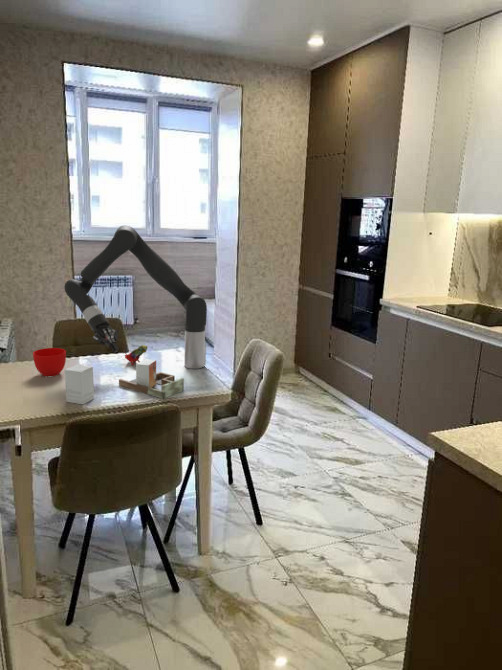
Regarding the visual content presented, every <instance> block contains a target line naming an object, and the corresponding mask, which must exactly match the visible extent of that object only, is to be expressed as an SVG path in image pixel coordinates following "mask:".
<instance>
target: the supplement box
mask: <svg viewBox="0 0 502 670" xmlns="http://www.w3.org/2000/svg"><path fill="white" fill-rule="evenodd" d="M64 376H65V377H64V378H65V379H64V381H65V394H66V395H65V396H66V399H65V400H66V402H67V403H73V404H79V405H85V404H86V403H88V402H90V401H92V400H94V399H95V385H94V367H93V366H91V365H84V364H83V365H82V364H74V365H72V366H70V367H68V368H65V369H64Z"/></svg>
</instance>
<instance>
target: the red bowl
mask: <svg viewBox="0 0 502 670" xmlns="http://www.w3.org/2000/svg"><path fill="white" fill-rule="evenodd" d="M32 355H33V357H32V358H33V364H34V367H35V369H36V371H38V372H39V373H40V374H41V375H42V376H43V377H45V376H47V377H48V376H53V377H57V376H58V375H60V374H61V372H62V371H63V369H64V368H65V365H66V359H67V351H66V350H65V349H64V348H59V347H47V348H45V347H44V348H40V349H37V350H34V351H33V352H32ZM56 375H57V376H56ZM47 377H46V378H47ZM48 378H49V377H48Z"/></svg>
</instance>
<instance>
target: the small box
mask: <svg viewBox="0 0 502 670" xmlns="http://www.w3.org/2000/svg"><path fill="white" fill-rule="evenodd" d="M135 371H136V373H135V376H136V377H135V379H136V384H140V385H143V386H147V387H150V388H154V386H156V385H157V384H156V373H157V360H156V359H147V358H143V359H142V360H140V362H138V363H136V365H135Z"/></svg>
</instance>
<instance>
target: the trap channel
mask: <svg viewBox="0 0 502 670" xmlns="http://www.w3.org/2000/svg"><path fill="white" fill-rule="evenodd" d="M184 382H185V380H184V378H183V377H181V378H179V379H178V378H177V379H176V380H175V375H174V374H170V373H166V372H161V371H159V372H156V385H159V386H160V390H159V389H158V388H154V387H152V388H150V387H147V386H143V385H140V384H136V378H135V379H132V380H125V379H121V378H120V379H118V386H120V387H123V388H126V389H129V390H133V391H135V392H140V393H143V394H146V395H149V396H153V397H157V398H159V399H166V398H168V397H171V396H173V395H175V394H178V393H181V392H184V389H185V387H184V386H185V385H184V384H185V383H184Z"/></svg>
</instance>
